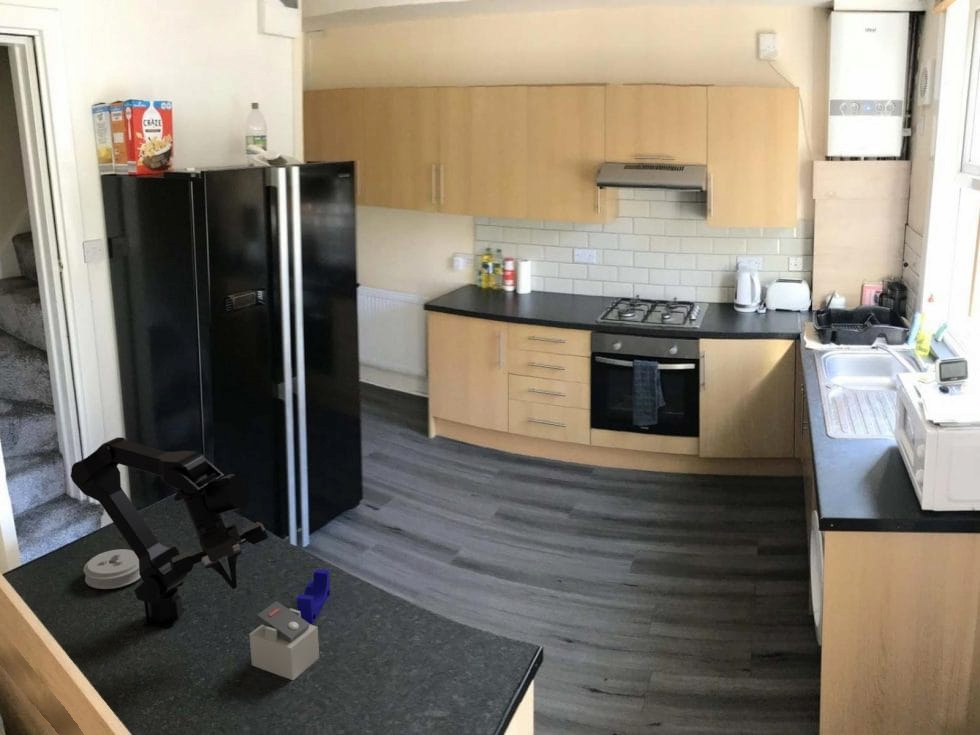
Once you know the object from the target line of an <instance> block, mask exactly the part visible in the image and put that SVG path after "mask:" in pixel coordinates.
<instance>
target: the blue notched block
mask: <svg viewBox="0 0 980 735" xmlns="http://www.w3.org/2000/svg"><path fill="white" fill-rule="evenodd" d="M330 579H331V577H330V569H329V570H327V569H320V568H319V569H318V568H317V569H315V570H314V571H313V580H309V581H308V584H307V585H306V586H305V589H304V594H298V596H296V604H297V606H296V607H297V609H296V610H298V611H301V618H302V619H304V620H305V621H307V622H308V623H309V624H310V625H313V624H314V622H315V621H316V620H317V617H318V616H317V615H319V614H320V612H321V611H322V608H323V607H324V606H323V605H325V604H326V602H327V600H328V599H329V598H330V595H331V580H330ZM320 610H321V611H320Z"/></svg>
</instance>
